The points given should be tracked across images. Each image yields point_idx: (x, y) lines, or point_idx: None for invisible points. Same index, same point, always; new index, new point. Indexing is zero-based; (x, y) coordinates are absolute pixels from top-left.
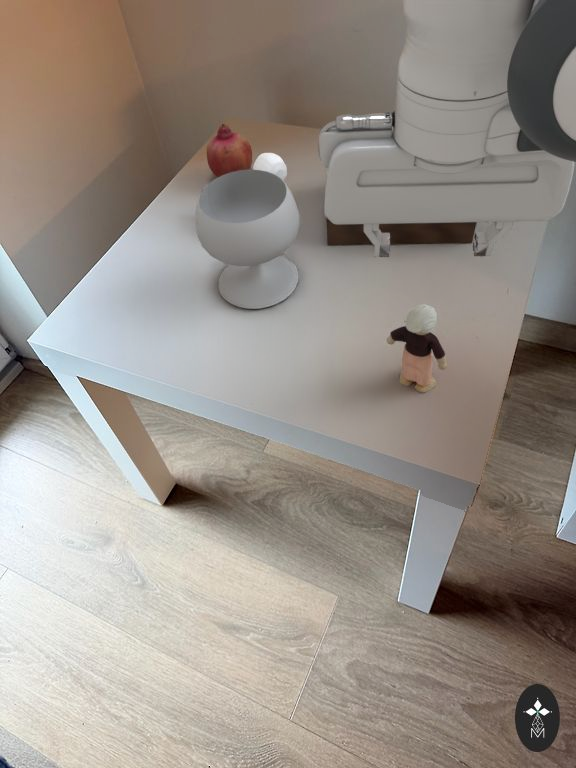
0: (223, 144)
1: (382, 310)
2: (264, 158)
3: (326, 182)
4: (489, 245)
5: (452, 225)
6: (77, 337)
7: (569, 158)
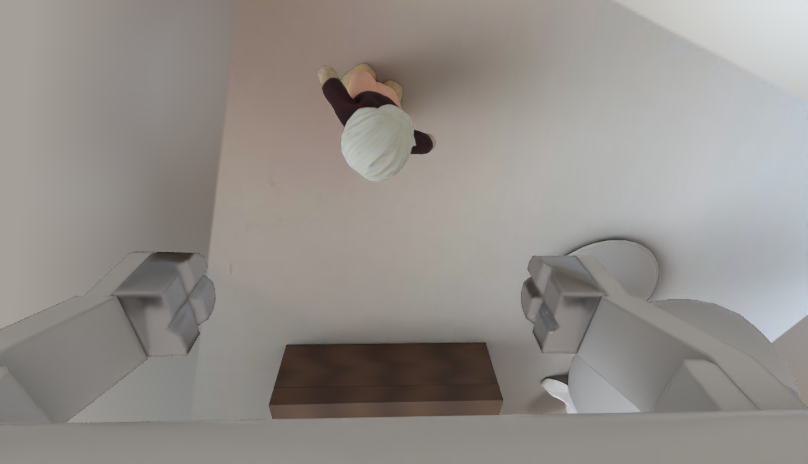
0: None
1: (418, 236)
2: None
3: None
4: (110, 287)
5: (312, 370)
6: None
7: None
